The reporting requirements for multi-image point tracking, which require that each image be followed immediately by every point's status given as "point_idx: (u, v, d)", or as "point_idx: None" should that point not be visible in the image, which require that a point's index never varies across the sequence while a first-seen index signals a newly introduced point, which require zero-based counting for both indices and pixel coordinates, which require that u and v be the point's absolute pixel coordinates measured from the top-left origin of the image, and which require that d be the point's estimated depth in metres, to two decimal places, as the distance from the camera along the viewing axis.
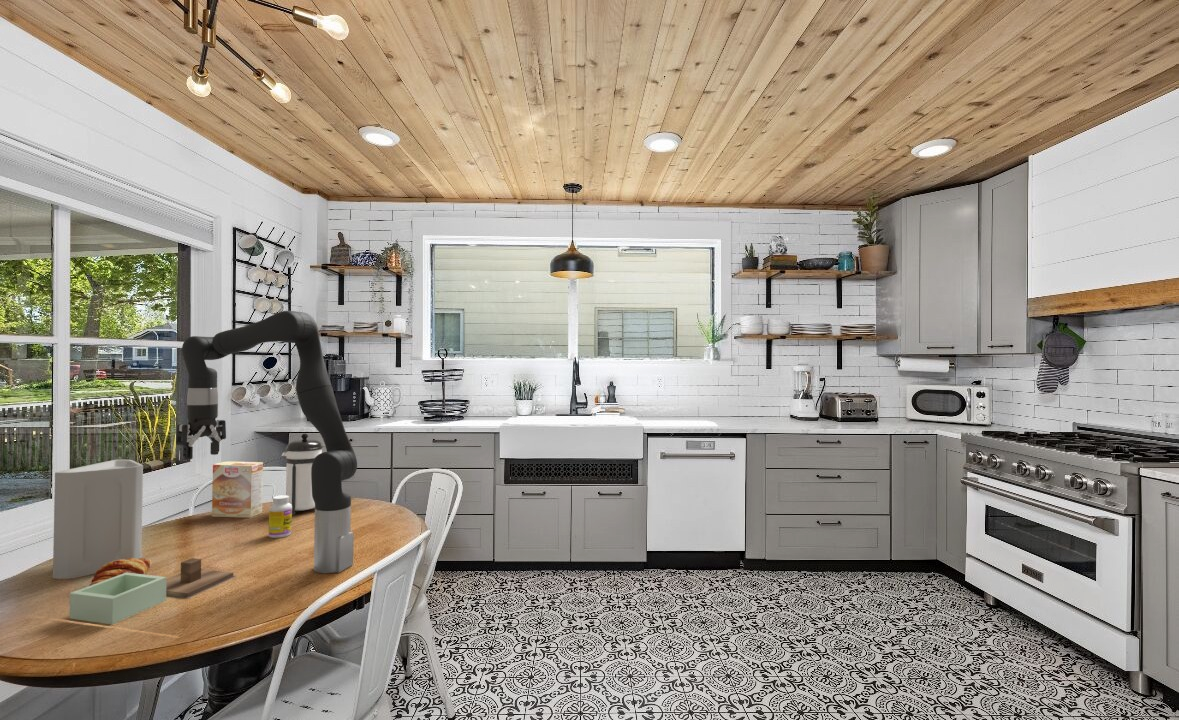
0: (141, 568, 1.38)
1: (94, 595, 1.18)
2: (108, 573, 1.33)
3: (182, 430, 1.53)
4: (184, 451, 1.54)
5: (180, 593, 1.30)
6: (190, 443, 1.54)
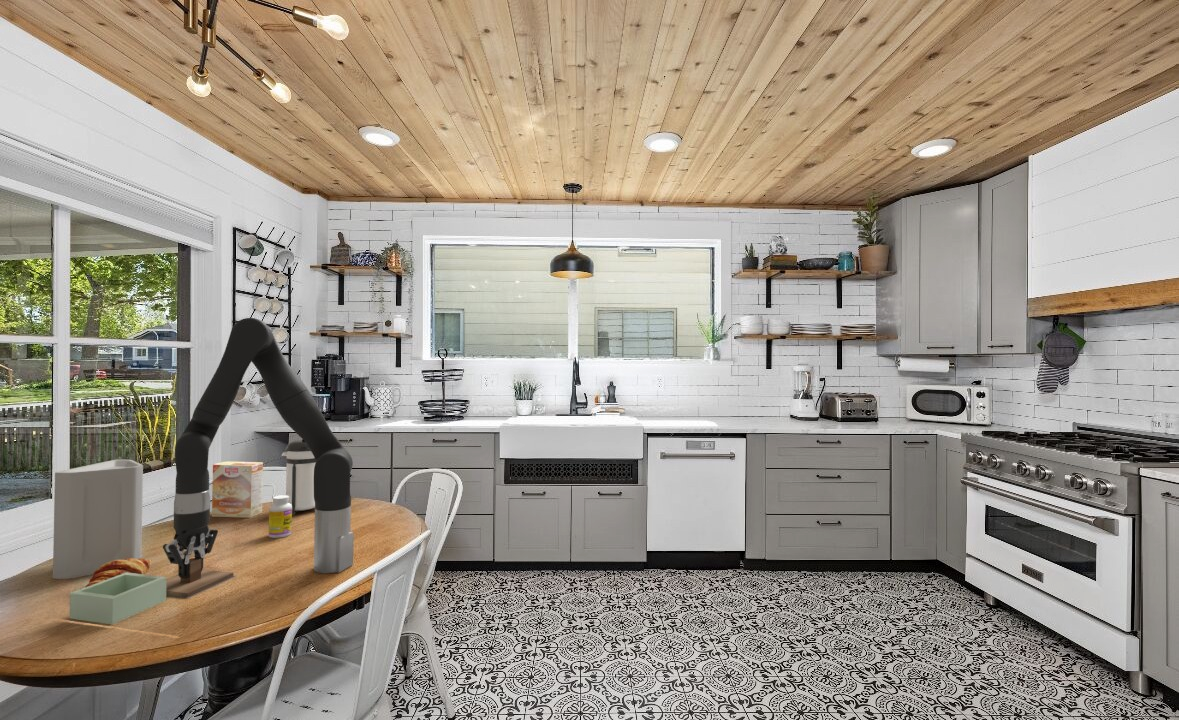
0: (139, 568, 1.38)
1: (94, 595, 1.18)
2: (105, 574, 1.33)
3: (171, 551, 1.31)
4: (179, 569, 1.35)
5: (180, 593, 1.30)
6: (186, 561, 1.35)
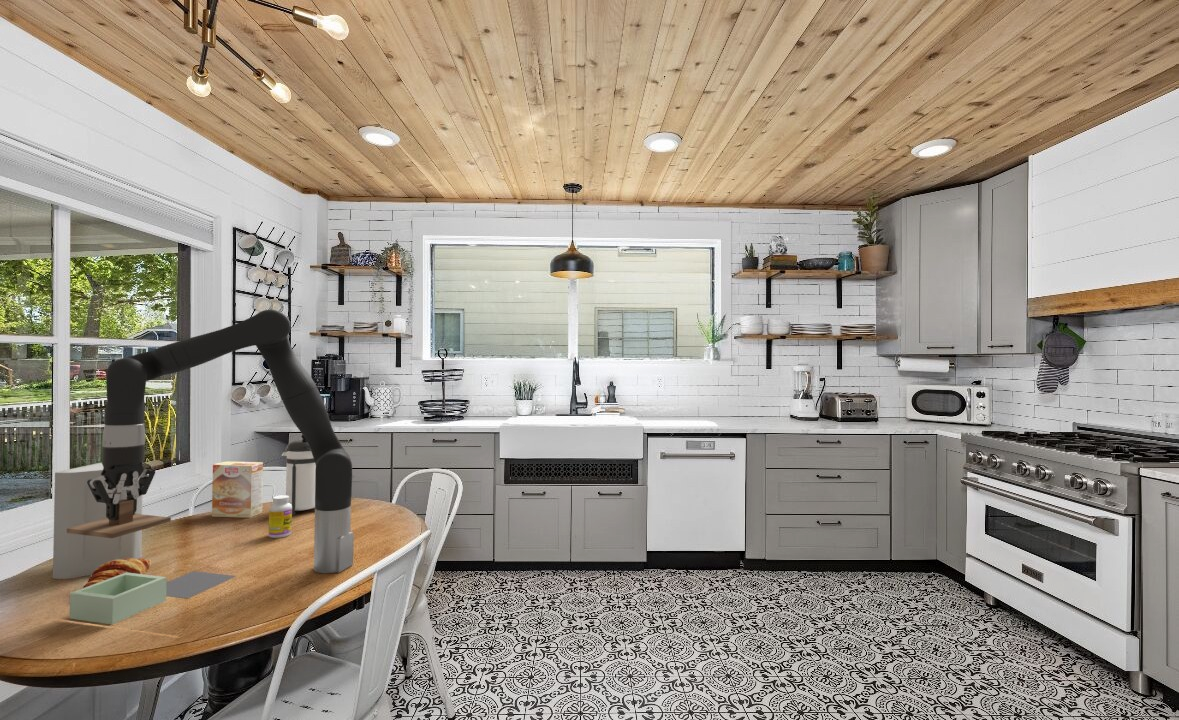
0: (138, 569, 1.38)
1: (94, 595, 1.18)
2: (103, 574, 1.33)
3: (96, 488, 1.18)
4: (107, 510, 1.21)
5: (104, 534, 1.16)
6: (114, 500, 1.21)
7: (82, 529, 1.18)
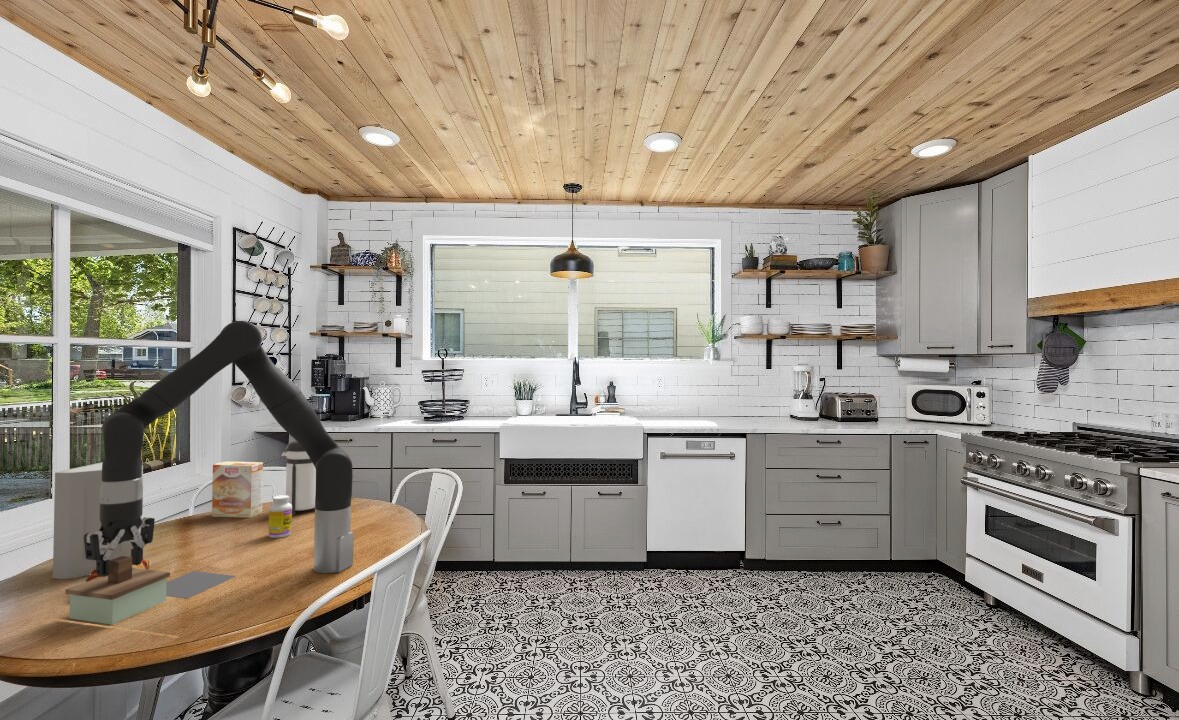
0: None
1: None
2: None
3: (91, 542, 1.17)
4: (97, 566, 1.19)
5: (103, 595, 1.16)
6: (105, 556, 1.19)
7: (81, 590, 1.18)
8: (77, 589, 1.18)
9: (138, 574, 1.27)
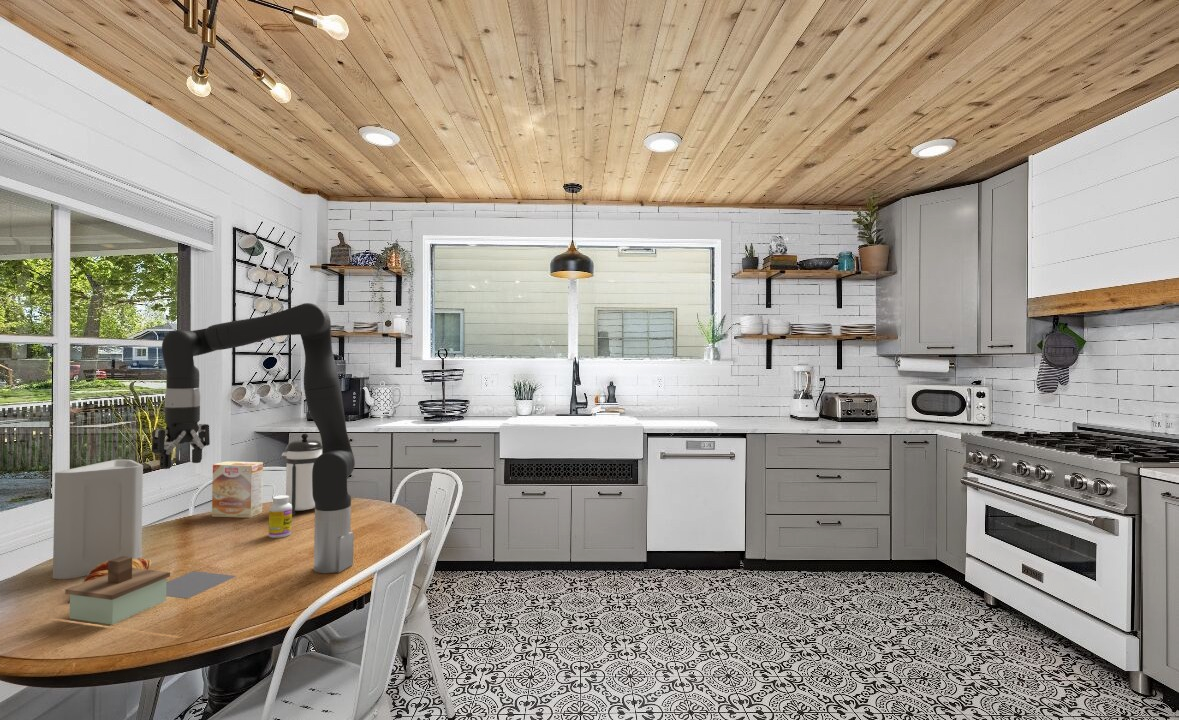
0: None
1: None
2: (99, 574, 1.33)
3: (158, 436, 1.35)
4: (161, 460, 1.37)
5: (103, 595, 1.16)
6: (168, 450, 1.37)
7: (81, 590, 1.18)
8: (77, 589, 1.18)
9: (138, 574, 1.27)
